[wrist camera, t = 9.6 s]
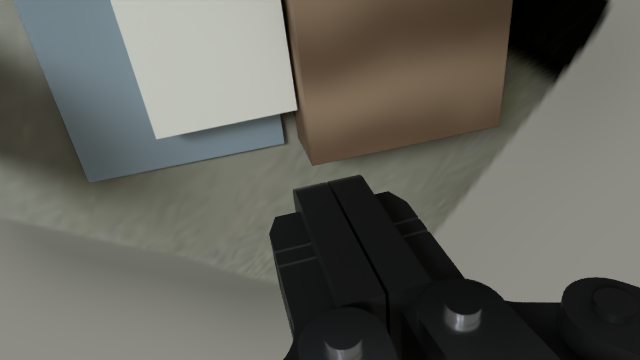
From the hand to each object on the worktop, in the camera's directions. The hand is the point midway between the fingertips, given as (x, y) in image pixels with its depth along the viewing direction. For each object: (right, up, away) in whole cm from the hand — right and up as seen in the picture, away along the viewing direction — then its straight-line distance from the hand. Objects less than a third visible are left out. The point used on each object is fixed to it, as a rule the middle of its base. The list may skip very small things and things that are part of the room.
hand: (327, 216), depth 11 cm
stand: (+4, +11, +18) cm, 21 cm away
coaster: (-6, +8, +16) cm, 19 cm away
